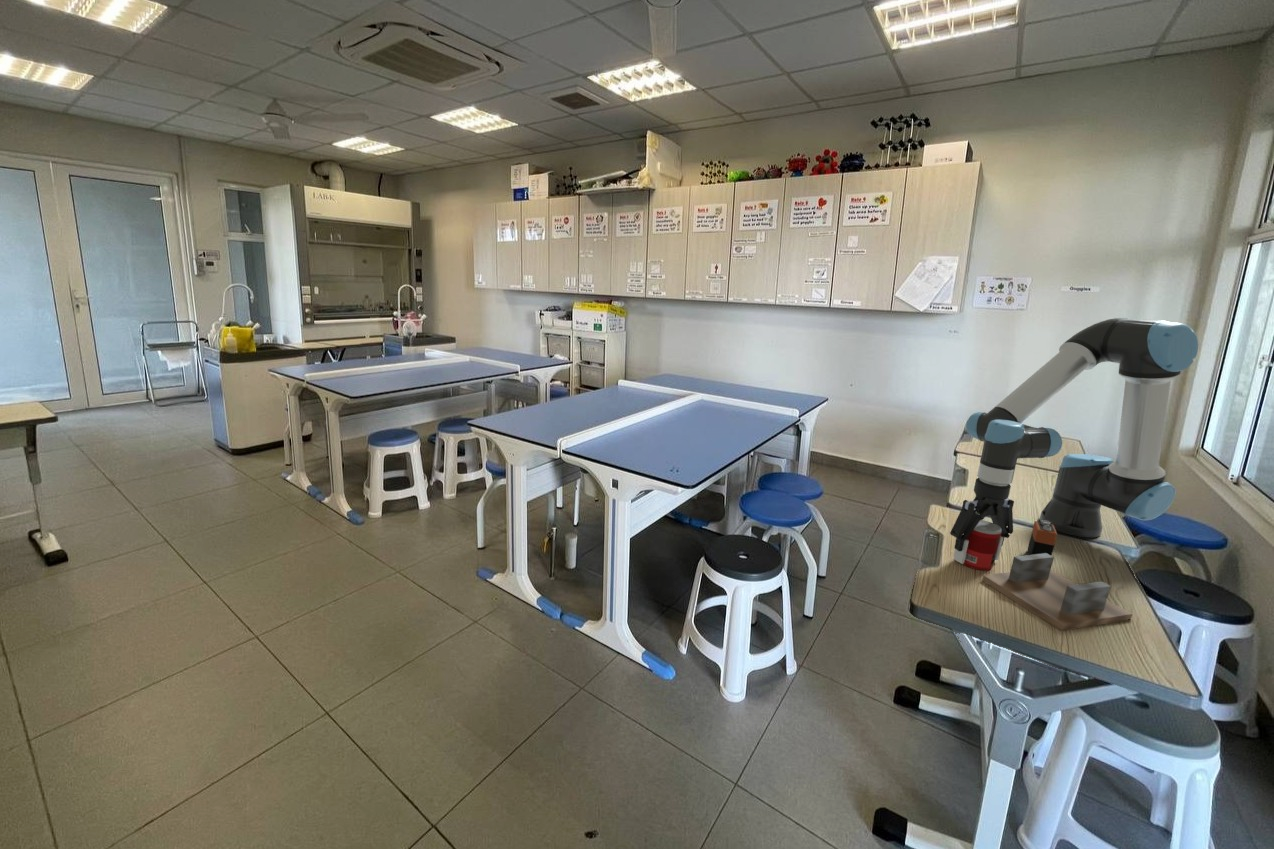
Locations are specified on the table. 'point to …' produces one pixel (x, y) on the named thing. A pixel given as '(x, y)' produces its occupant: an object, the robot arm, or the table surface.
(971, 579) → the table surface
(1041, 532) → the battery
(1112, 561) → the table surface
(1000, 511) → the robot arm
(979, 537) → the canned food
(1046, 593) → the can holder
